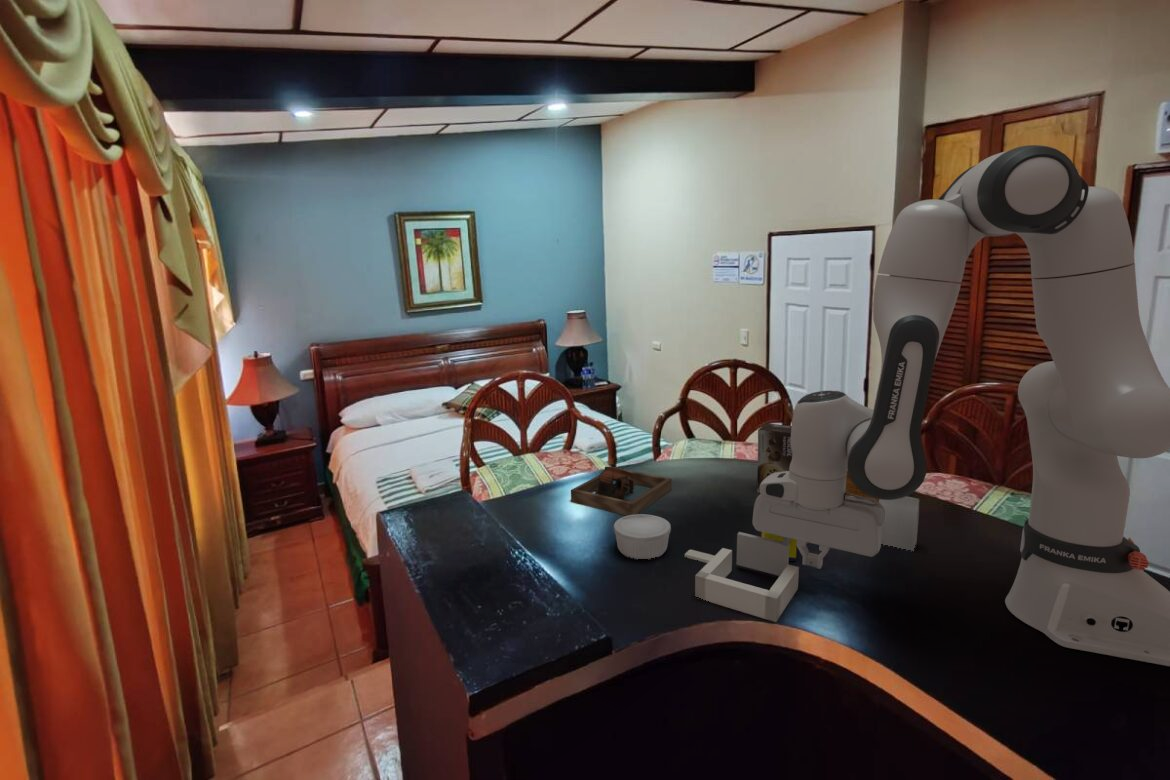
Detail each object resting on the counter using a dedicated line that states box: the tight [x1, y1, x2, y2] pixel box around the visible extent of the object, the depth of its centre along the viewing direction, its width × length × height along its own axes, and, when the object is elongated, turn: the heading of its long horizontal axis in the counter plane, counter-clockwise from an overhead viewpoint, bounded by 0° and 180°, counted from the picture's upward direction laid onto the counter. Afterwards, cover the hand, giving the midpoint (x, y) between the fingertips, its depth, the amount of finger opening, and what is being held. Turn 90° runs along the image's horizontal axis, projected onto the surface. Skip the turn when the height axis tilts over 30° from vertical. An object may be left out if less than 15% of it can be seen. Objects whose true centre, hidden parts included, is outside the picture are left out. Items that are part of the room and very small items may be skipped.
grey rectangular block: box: [878, 496, 920, 552], centre depth 117 cm, size 4×7×10 cm, turn 54°
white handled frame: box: [684, 547, 800, 623], centre depth 105 cm, size 21×14×4 cm
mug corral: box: [570, 468, 673, 516], centre depth 146 cm, size 17×19×3 cm
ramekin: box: [613, 513, 672, 560], centre depth 119 cm, size 11×11×5 cm
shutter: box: [736, 531, 790, 577], centre depth 107 cm, size 9×1×8 cm, turn 55°
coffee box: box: [756, 423, 792, 494], centre depth 145 cm, size 9×6×16 cm
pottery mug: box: [594, 466, 635, 500], centre depth 146 cm, size 12×9×8 cm
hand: (812, 565), depth 102 cm, fingers closed
